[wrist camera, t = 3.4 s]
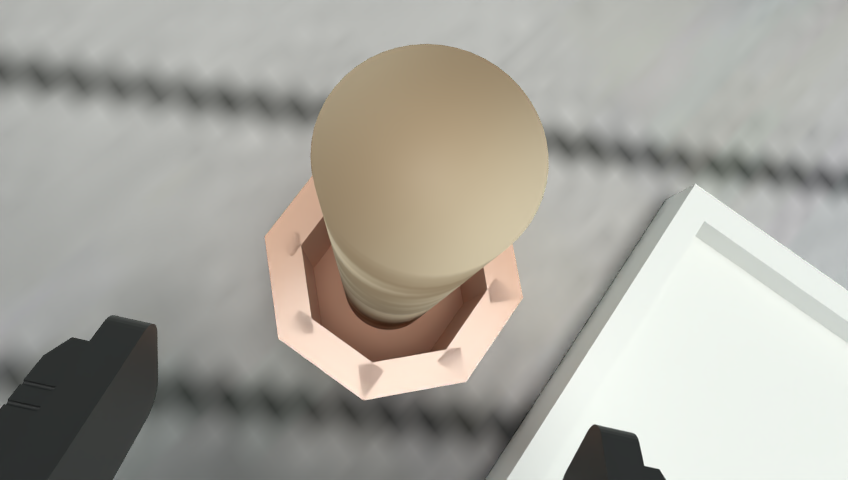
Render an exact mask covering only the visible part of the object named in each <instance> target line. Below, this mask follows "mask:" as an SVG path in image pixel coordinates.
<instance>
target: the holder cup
mask: <svg viewBox="0 0 848 480" xmlns="http://www.w3.org/2000/svg"><path fill="white" fill-rule="evenodd" d="M265 243H266V251H267V258H268V265H269V273H270V280H271V288H272V295H273V303H274V310H275V317H276V325H277V332H278V339H280V340H281V341H282V342H284V343H285V344H286V345H288V346H289V347H291V348H292V349H293V350H295V351H296V352H297V353H299V354H300V355H302V356H303V357H304V358H306V359H307V360H309V361H310V362H311V363H313V364H314V365H315V366H317V367H318V368H320V369H321V370H322V371H324V372H325V373H326V374H328V375H329V376H331V377H332V378H333V379H335V380H336V381H337V382H339V383H340V384H342V385H343V386H344V387H346V388H347V389H348V390H350V391H351V392H353V393H354V394H355V395H357V396H358V397H359V398H361V399H362V400H368V399H374V398H379V397H385V396H391V395H396V394H402V393H407V392H413V391H418V390H424V389H429V388H435V387H441V386H446V385H452V384H457V383H463V382H467V380H468V379H469V377H470V376H471V374H472V373H473V371H474V370H475V368H476V367H477V365H478V364H479V362H480V361H481V359H482V358H483V356H484V355H485V353H486V352H487V350H488V349H489V347H490V346H491V344H492V343H493V341H494V340H495V338H496V337H497V336H498V334H499V333H500V331H501V330H502V328H503V327H504V325H505V324H506V322H507V321H508V319H509V318H510V316H511V315H512V313H513V312H514V310H515V309H516V307H517V306H518V304H519V303H520V301H521V300H522V298H523V296H522V290H521V285H520V280H519V275H518V270H517V265H516V260H515V254H514V249H513V244H512V245H511V246H510V247H508V248H507V249H506V250H505V251H503V252H502V253H501V254H500V255H498V256H497V257H496V258H494V259H493V260H492V261H491V262H489V263H488V264H487V265H486V266H484V267H483V268H482V269H481V270H479V271H478V272H477V273H475V274H474V275H473V276H472V277H470V278H469V279H468V280H467V281H465V282H464V283H463V284H462V285H460V286H459V287H458V288H456V289H455V290H454V291H453V292H451V293H450V294H449V295H448V296H446V297H445V298H444V299H443V300H441V301H440V302H439V303H437V304H436V305H435V306H434V307H432V308H431V309H430V310H429V311H427V312H426V313H425V314H424V315H422V316H421V317H420V318H418V319H417V320H416V321H414V322H413V323H412V324H410V325H408V326H406V327H403V328H400V329H395V330H382V329H377V328H374V327H372V326H369V325H367V324H366V323H364V322H363V321H361V320H360V319H359V318H358V317H357V316H356V315H355V314H354V312H353V311H352V309H351V308H350V306H349V304H348V301H347V298H346V295H345V291H344V288H343V284H342V281H341V277H340V274H339V270H338V266H337V263H336V259H335V256H334V252H333V249H332V245H331V242H330V238H329V235H328V231H327V228H326V224H325V221H324V217H323V214H322V210H321V207H320V203H319V200H318V196H317V192H316V189H315V185H314V180H313V176H312V177H311V178H310V179H309V180H308V182H307V183H306V184H305V186H304V187H303V188H302V189H301V191H300V192H299V193H298V195H297V196H296V197H295V198H294V200H293V201H292V202H291V204H290V205H289V206H288V207H287V209H286V210H285V211H284V212H283V214H282V215H281V216H280V218H279V219H278V220H277V221H276V223H275V224H274V225H273V227H272V228H271V229H270V230H269V232H268V233H267V234H266V235H265Z"/></svg>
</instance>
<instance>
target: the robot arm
mask: <svg viewBox="0 0 848 480" xmlns="http://www.w3.org/2000/svg"><path fill="white" fill-rule="evenodd" d="M157 386H158V351H157V328H156V325H154V324H150V323H146V322H141V321H137V320H133V319H128V318H124V317H119V316H115V315H112V316H110V317H108V318H107V319H106V320H105V321H104V322H103V324H102V325H101V327H100V328H99V329H98V331H97V332H96V333H95V335H94V336H93V337H92V339H91V340H90V341H86V340H81V339H77V338H70V339H69V340H67V341H66V342H64V343H62V344H61V345H59V346H58V347H56V348H55V349H53V350H51V351H50V352H48V353H47V354H45V355H43V357H42V358H41V359H40V360H39V362H38V363H37V364H36V365H35V366H34V368H33V369H32V370H31V371H30V373H29V374H28V375H27V376H26V378H25V379H24V382H23V384H22V385H21V384H20V385H19V386H18V388H17V389H16V390H15V391H14V393H13V394H12V395H11V396H10V398H9V399H8V402H7V404H6V405H3V406H2V407H1V409H0V480H113V478H114V476H115V474H116V473H117V471H118V469H119V467H120V465H121V464H122V462H123V460H124V458H125V457H126V455H127V453H128V451H129V449H130V448H131V446H132V444H133V442H134V440H135V439H136V437H137V435H138V433H139V432H140V430H141V428H142V426H143V424H144V423H145V421H146V419H147V417H148V415H149V413H150V411H151V408H152V406H153V403H154V400H155V396H156V392H157ZM563 480H666V479H665V477H664V476H663V474H662V473H661V471H660V469H657V468H652V467H647V466H644V462H643V457H642V452H641V448H640V443H639V440H638V437H637V436H636V434H634V433H631V432H627V431H622V430H618V429H613V428H609V427H604V426H600V425H596V424H594V425H592V426H591V427H590V428H589V430H588V431H587V433H586V435H585V437H584V439H583V441H582V443H581V444H580V446H579V448H578V450H577V452H576V454H575V456H574V457H573V459H572V461H571V463H570V465H569V467H568V469H567V470H566V472H565V474H564V477H563Z"/></svg>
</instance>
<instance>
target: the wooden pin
mask: <svg viewBox="0 0 848 480" xmlns="http://www.w3.org/2000/svg"><path fill="white" fill-rule="evenodd" d="M311 169H312V176H313V180H314V185H315V189H316V192H317V196H318V200H319V203H320V207H321V210H322V214H323V217H324V221H325V224H326V228H327V231H328V235H329V238H330V242H331V245H332V249H333V252H334V256H335V259H336V263H337V266H338V270H339V274H340V277H341V281H342V284H343V288H344V291H345V295H346V298H347V301H348V304H349V306H350V308H351V309H352V311H353V312H354V314H355V315H356V316H357V317H358V318H359V319H360V320H361V321H363V322H364V323H366V324H367V325H369V326H372V327H374V328H377V329H382V330H395V329H400V328H403V327H406V326H408V325H410V324H412V323H413V322H414V321H416V320H417V319H418V318H420V317H421V316H422V315H424V314H425V313H426V312H427V311H429V310H430V309H431V308H432V307H434V306H435V305H436V304H437V303H439V302H440V301H441V300H443V299H444V298H445V297H446V296H448V295H449V294H450V293H451V292H453V291H454V290H455V289H456V288H458V287H459V286H460V285H462V284H463V283H464V282H465V281H467V280H468V279H469V278H470V277H472V276H473V275H474V274H475V273H477V272H478V271H479V270H481V269H482V268H483V267H484V266H486V265H487V264H488V263H489V262H491V261H492V260H493V259H494V258H496V257H497V256H498V255H500V254H501V253H502V252H503V251H505V250H506V249H507V248H508V247H510V246H511V245H512V244H513V243H514V242H515V241H516V240H517V239H518V238H519V237H520V236H521V234H522V233H523V232H524V231H525V229H526V228H527V227H528V226H529V224H530V223H531V221H532V219H533V218H534V216H535V214H536V212H537V210H538V208H539V206H540V203H541V201H542V198H543V195H544V191H545V187H546V183H547V175H548V149H547V142H546V137H545V134H544V130H543V126H542V124H541V121H540V119H539V117H538V114H537V112H536V110H535V108H534V107H533V105H532V103H531V101H530V100H529V98H528V97H527V96H526V94H525V93H524V92H523V90H522V89H521V88H520V86H519V85H518V84H517V83H516V82H515V81H514V80H513V79H512V78H511V77H510V76H509V75H507V74H506V73H505V72H504V71H502V70H501V69H500V68H499V67H497V66H496V65H494V64H492V63H491V62H489V61H487V60H486V59H484V58H482V57H480V56H477V55H475V54H473V53H471V52H468V51H465V50H462V49H458V48H454V47H449V46H444V45H432V44H420V45H409V46H403V47H398V48H394V49H391V50H388V51H385V52H382V53H380V54H378V55H376V56H373V57H371V58H369V59H367V60H366V61H364V62H363V63H361V64H360V65H358V66H356V67H355V68H354V69H353V70H352V71H350V72H349V73H348V74H347V75H346V76H344V78H343V79H342V80H341V81H340V82H339V83H338V84H337V85H336V86H335V87H334V89H333V90H332V92H331V93H330V95H329V96H328V98H327V99H326V101H325V103H324V105H323V107H322V109H321V111H320V113H319V115H318V118H317V121H316V124H315V127H314V132H313V137H312V142H311Z"/></svg>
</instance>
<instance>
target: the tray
mask: <svg viewBox="0 0 848 480" xmlns="http://www.w3.org/2000/svg"><path fill="white" fill-rule="evenodd" d="M594 424H596V425H600V426H604V427H609V428H613V429H618V430H622V431H627V432H631V433H634V434H636V436H637V437H638V440H639V443H640V448H641V452H642V457H643V462H644V466H647V467H652V468H657V469H660V471H661V473H662V474H663V476H664V477H665V479H666V480H848V290H846V289H845V288H843V287H842V286H841V285H839V284H838V283H836V282H835V281H833V280H832V279H831V278H829V277H828V276H826V275H825V274H823V273H822V272H821V271H819V270H818V269H816V268H815V267H813V266H812V265H811V264H809V263H808V262H806V261H805V260H803V259H802V258H801V257H799V256H798V255H796V254H795V253H793V252H792V251H791V250H789V249H788V248H786V247H785V246H783V245H782V244H781V243H779V242H778V241H776V240H775V239H773V238H772V237H770V236H769V235H768V234H766V233H765V232H763V231H762V230H760V229H759V228H758V227H756V226H755V225H753V224H752V223H750V222H749V221H748V220H746V219H745V218H743V217H742V216H740V215H739V214H738V213H736V212H735V211H733V210H732V209H730V208H729V207H728V206H726V205H725V204H723V203H722V202H720V201H719V200H718V199H716V198H715V197H713V196H712V195H710V194H709V193H708V192H706V191H705V190H703V189H702V188H700V187H699V186H698V185H696V184H694V185H693V186H691V187H689V188H687V189H685V190H683V191H681V192H679V193H678V194H676V195H674V196H672V197H670V198H668V199H666V200H665V202H664V203H663V205H662V206H661V208H660V209H659V211H658V213H657V214H656V216H655V217H654V219H653V220H652V222H651V223H650V225H649V227H648V228H647V230H646V231H645V233H644V234H643V236H642V237H641V239H640V240H639V242H638V244H637V245H636V247H635V248H634V250H633V251H632V253H631V254H630V256H629V257H628V259H627V261H626V262H625V264H624V265H623V267H622V268H621V270H620V271H619V273H618V275H617V276H616V278H615V279H614V281H613V282H612V284H611V285H610V287H609V288H608V290H607V292H606V293H605V295H604V296H603V298H602V299H601V301H600V302H599V304H598V306H597V307H596V309H595V310H594V312H593V313H592V315H591V316H590V318H589V319H588V321H587V323H586V324H585V326H584V327H583V329H582V330H581V332H580V333H579V335H578V336H577V338H576V340H575V341H574V343H573V344H572V346H571V347H570V349H569V350H568V352H567V354H566V355H565V357H564V358H563V360H562V361H561V363H560V364H559V366H558V367H557V369H556V371H555V372H554V374H553V375H552V377H551V378H550V380H549V381H548V383H547V384H546V386H545V388H544V389H543V391H542V392H541V394H540V395H539V397H538V398H537V400H536V402H535V403H534V405H533V406H532V408H531V409H530V411H529V412H528V414H527V415H526V417H525V419H524V420H523V422H522V423H521V425H520V426H519V428H518V429H517V431H516V432H515V434H514V436H513V437H512V439H511V440H510V442H509V443H508V445H507V446H506V448H505V450H504V451H503V453H502V454H501V456H500V457H499V459H498V460H497V462H496V463H495V465H494V467H493V468H492V470H491V471H490V473H489V474H488V476H487V477H486V479H485V480H563V477H564V474H565V472H566V470H567V469H568V467H569V465H570V463H571V461H572V459H573V457H574V456H575V454H576V452H577V450H578V448H579V446H580V444H581V443H582V441H583V439H584V437H585V435H586V433H587V431H588V430H589V428H590V427H591V426H592V425H594Z"/></svg>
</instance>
